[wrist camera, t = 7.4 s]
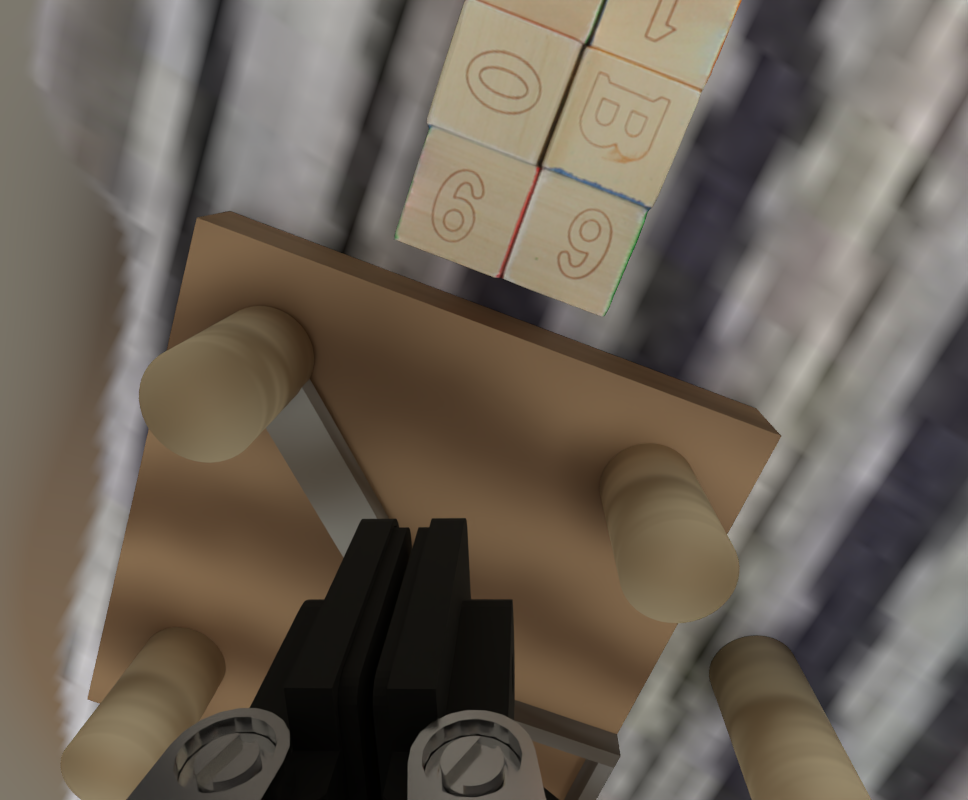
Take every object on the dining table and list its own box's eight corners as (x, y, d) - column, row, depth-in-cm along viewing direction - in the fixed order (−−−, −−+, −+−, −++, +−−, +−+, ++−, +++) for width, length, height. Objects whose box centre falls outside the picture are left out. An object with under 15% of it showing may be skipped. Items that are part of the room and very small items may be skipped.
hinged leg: (456, 600, 29) (442, 700, 24) (379, 630, 30) (348, 733, 25) (283, 288, 26) (219, 325, 20) (198, 330, 26) (114, 376, 21)
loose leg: (771, 717, 35) (841, 875, 27) (694, 690, 34) (743, 843, 27) (812, 652, 33) (898, 799, 26) (733, 624, 33) (795, 764, 25)
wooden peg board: (550, 796, 37) (559, 990, 28) (122, 655, 35) (-5, 815, 27) (756, 408, 30) (850, 512, 21) (229, 211, 28) (102, 236, 20)
